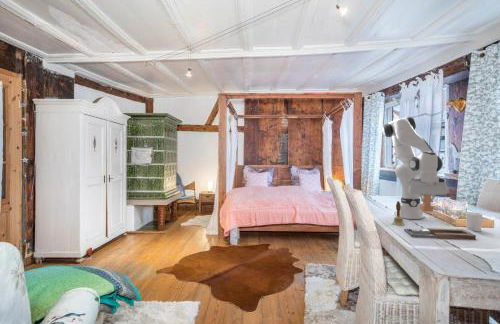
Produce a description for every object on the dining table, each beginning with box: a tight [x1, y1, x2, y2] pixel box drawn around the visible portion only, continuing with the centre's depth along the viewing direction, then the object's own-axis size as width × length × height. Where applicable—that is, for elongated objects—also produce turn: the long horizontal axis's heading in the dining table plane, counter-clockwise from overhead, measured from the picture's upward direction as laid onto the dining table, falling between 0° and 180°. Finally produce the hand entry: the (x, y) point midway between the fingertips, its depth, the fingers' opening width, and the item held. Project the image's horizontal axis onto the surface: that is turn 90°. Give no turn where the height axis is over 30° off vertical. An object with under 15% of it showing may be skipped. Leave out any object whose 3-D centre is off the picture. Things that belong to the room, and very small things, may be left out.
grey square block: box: [410, 228, 421, 235], centre depth 161 cm, size 4×4×3 cm
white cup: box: [465, 211, 483, 232], centre depth 172 cm, size 8×8×10 cm
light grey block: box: [419, 228, 431, 235], centre depth 161 cm, size 4×4×3 cm
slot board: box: [426, 227, 477, 241], centre depth 158 cm, size 14×19×3 cm
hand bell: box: [390, 200, 405, 226], centre depth 183 cm, size 8×8×16 cm
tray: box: [403, 228, 437, 239], centre depth 161 cm, size 12×12×2 cm
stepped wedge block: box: [420, 194, 434, 212], centre depth 170 cm, size 5×5×10 cm
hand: (426, 201), depth 169 cm, fingers closed on stepped wedge block, 3 cm apart
